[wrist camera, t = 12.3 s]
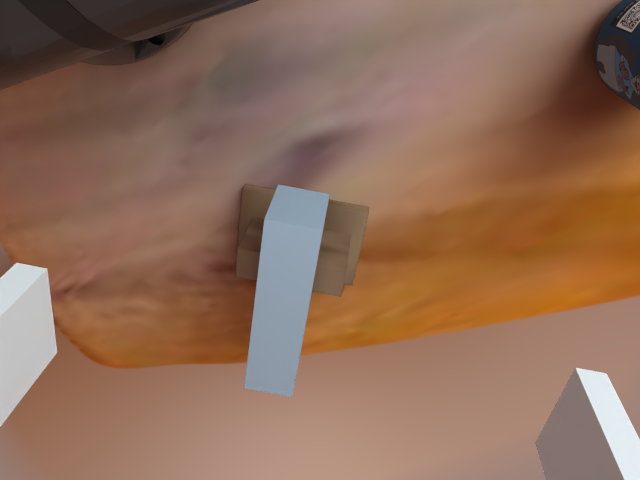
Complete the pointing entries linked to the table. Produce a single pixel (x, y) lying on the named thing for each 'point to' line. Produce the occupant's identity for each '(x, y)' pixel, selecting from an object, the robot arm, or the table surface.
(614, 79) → the soda can
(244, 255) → the ridge stand
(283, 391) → the bar
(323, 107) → the table surface
